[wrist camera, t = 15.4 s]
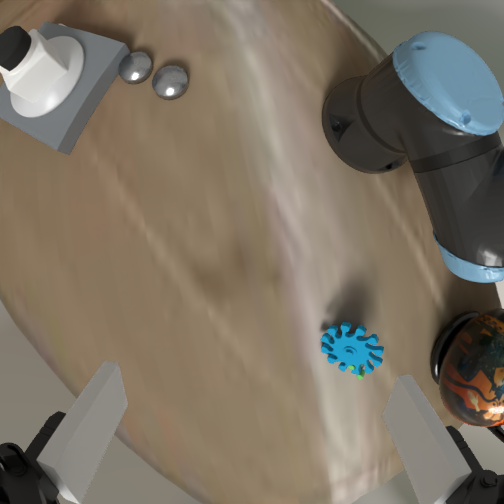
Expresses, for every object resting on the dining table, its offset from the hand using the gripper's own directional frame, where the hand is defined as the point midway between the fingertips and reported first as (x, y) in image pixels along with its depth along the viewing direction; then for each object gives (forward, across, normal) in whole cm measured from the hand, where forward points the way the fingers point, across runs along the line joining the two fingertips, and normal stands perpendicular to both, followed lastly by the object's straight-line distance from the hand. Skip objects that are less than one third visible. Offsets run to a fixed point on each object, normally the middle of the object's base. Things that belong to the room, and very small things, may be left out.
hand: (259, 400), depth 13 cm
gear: (+30, +15, -15) cm, 36 cm away
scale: (+30, -34, +25) cm, 52 cm away
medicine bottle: (+26, -33, +26) cm, 49 cm away
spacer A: (+32, -14, +23) cm, 42 cm away
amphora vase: (+32, +42, -19) cm, 56 cm away
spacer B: (+32, -19, +26) cm, 45 cm away
